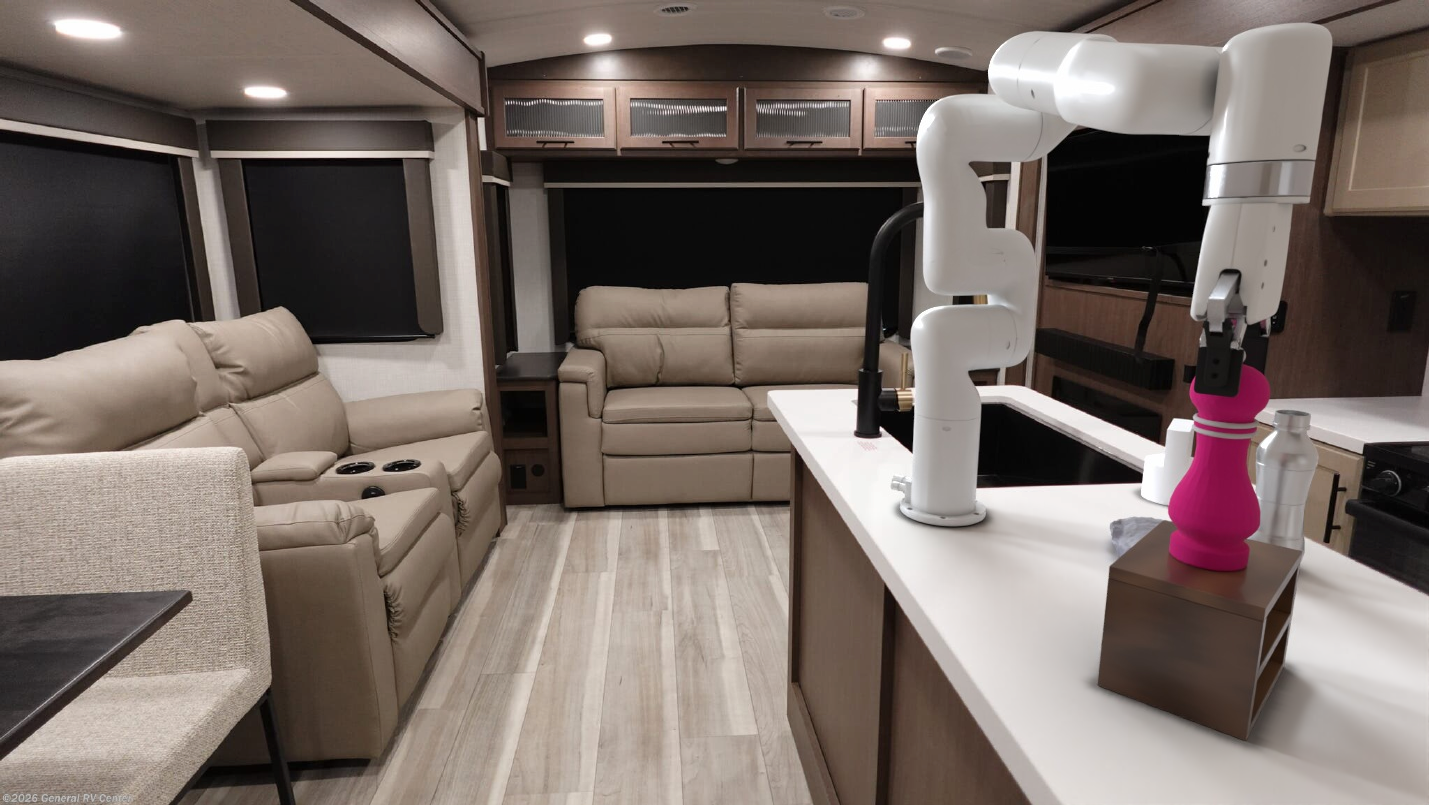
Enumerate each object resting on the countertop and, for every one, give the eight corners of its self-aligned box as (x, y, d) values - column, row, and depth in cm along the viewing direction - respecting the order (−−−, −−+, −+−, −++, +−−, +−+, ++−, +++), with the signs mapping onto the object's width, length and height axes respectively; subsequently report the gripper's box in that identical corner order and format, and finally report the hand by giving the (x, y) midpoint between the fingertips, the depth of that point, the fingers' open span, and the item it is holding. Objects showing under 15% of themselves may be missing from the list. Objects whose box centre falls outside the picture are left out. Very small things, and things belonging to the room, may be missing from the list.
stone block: (1127, 584, 99) (1215, 575, 96) (1122, 548, 98) (1210, 538, 96) (1102, 550, 110) (1180, 542, 108) (1097, 518, 109) (1175, 508, 107)
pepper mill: (1255, 581, 68) (1288, 354, 64) (1160, 563, 72) (1186, 348, 68) (1252, 552, 74) (1282, 343, 70) (1165, 537, 78) (1188, 338, 74)
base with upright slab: (1145, 485, 131) (1153, 415, 128) (1208, 495, 126) (1217, 422, 123) (1137, 500, 124) (1144, 427, 121) (1203, 511, 119) (1213, 435, 116)
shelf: (1097, 685, 74) (1109, 566, 72) (1151, 625, 85) (1163, 519, 83) (1245, 741, 66) (1265, 608, 63) (1284, 666, 77) (1302, 550, 74)
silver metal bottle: (1235, 566, 99) (1256, 414, 95) (1245, 550, 104) (1266, 404, 100) (1297, 581, 95) (1322, 422, 91) (1305, 564, 100) (1329, 412, 96)
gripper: (1230, 191, 74) (1207, 368, 78) (1175, 186, 62) (1152, 395, 66) (1329, 187, 69) (1300, 377, 73) (1290, 181, 57) (1258, 409, 61)
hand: (1229, 386), depth 69 cm, fingers open, 9 cm apart
